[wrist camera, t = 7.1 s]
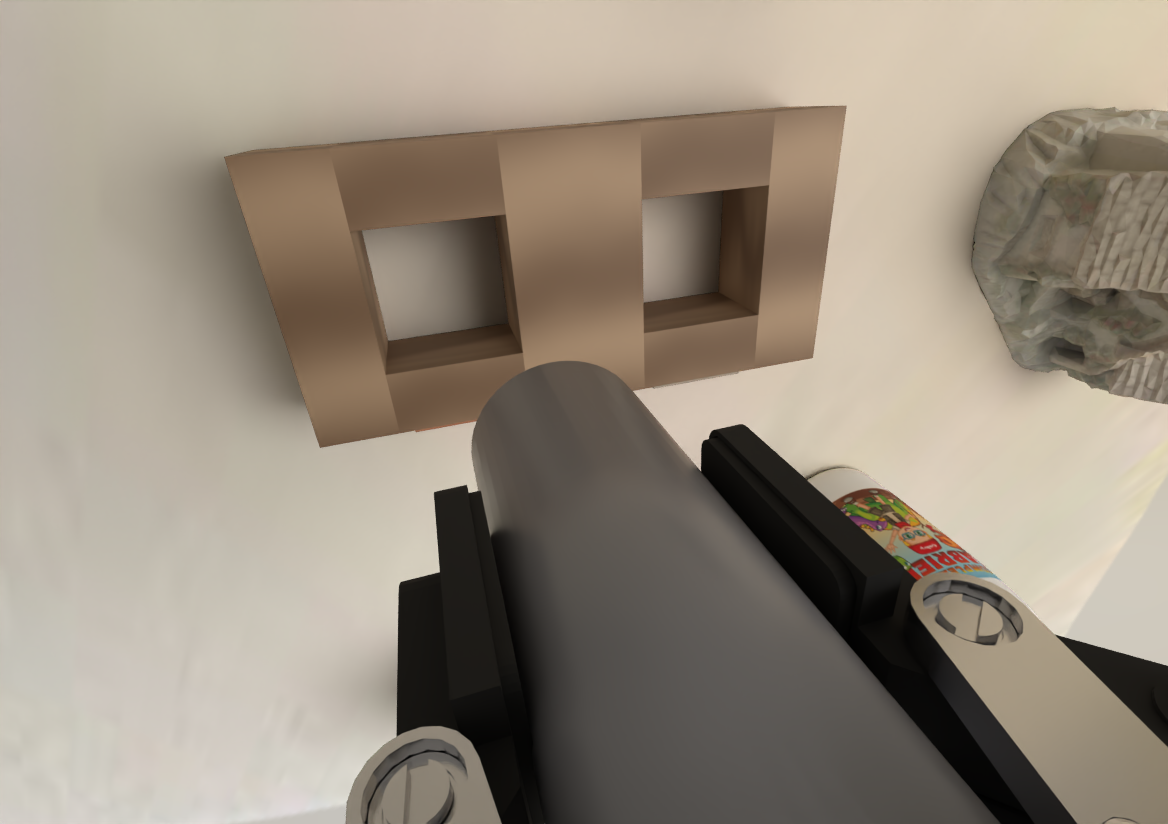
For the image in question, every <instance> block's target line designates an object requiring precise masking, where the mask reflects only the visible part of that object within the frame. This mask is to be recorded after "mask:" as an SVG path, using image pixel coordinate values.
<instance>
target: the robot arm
mask: <svg viewBox="0 0 1168 824" xmlns="http://www.w3.org/2000/svg"><path fill="white" fill-rule="evenodd" d="M701 472H702V473H703V475H704V476H705V477H706V478H707V479H708V481H709V482H710V483H711V484H712V485H713V486H714V488H715V489H716V490H717V491H718V492H719V493H720V495H721V496H722V497H723V498H724V499H725V501H726V502H727V503H728V504H729V505H730V506H731V508H732V509H733V510H734V511H735V512H736V513H737V515H738V516H739V517H740V518H741V519H742V520H743V522H744V523H745V524H746V525H747V526H748V528H749V529H750V530H751V531H752V532H753V533H754V535H755V536H756V537H757V538H758V539H759V540H760V542H761V543H762V544H763V545H764V546H765V548H766V549H767V550H768V551H769V552H770V553H771V555H772V556H773V557H774V558H775V559H776V560H777V562H778V563H779V564H780V565H781V566H782V567H783V569H784V570H785V571H786V572H787V573H788V575H789V576H790V577H791V578H792V579H793V580H794V582H795V583H796V584H797V585H798V586H799V587H800V589H801V590H802V591H803V592H804V593H805V595H806V596H807V597H808V598H809V599H810V600H811V602H812V603H813V604H814V605H815V606H816V607H817V609H818V610H819V611H820V612H821V613H822V614H823V616H824V617H825V618H826V619H827V620H828V622H829V623H830V624H831V625H832V626H833V627H834V629H835V630H836V631H837V632H838V633H839V634H840V636H841V637H842V638H843V639H844V640H845V642H846V643H847V644H848V645H849V646H850V647H851V649H852V650H853V651H854V652H855V653H856V654H857V656H858V657H859V658H860V659H861V660H862V661H863V663H864V664H865V665H866V666H867V667H868V669H869V670H870V671H871V672H872V673H873V674H874V676H875V677H876V678H877V679H878V680H879V681H880V683H881V684H882V685H883V686H884V687H885V688H886V690H887V691H888V692H889V693H890V694H891V696H892V697H893V698H894V699H895V700H896V701H897V703H898V704H899V705H900V706H901V707H902V708H903V710H904V711H905V712H906V713H907V714H908V716H909V717H910V718H911V719H912V720H913V721H914V723H915V724H916V725H917V726H918V727H919V728H920V730H921V731H922V732H923V733H924V734H925V735H926V737H927V738H928V739H929V740H930V741H931V743H932V744H933V745H934V746H935V747H936V748H937V750H938V751H939V752H940V753H941V754H942V755H943V757H944V758H945V759H946V760H947V761H948V763H949V764H950V765H951V766H952V767H953V768H954V770H955V771H956V772H957V773H958V774H959V775H960V777H961V778H962V779H963V780H964V781H965V782H966V784H967V785H968V786H969V787H970V788H971V790H972V791H973V792H974V793H975V794H976V795H977V797H978V798H979V799H980V800H981V801H982V802H983V804H984V805H985V806H986V807H987V808H988V810H989V811H990V812H991V813H992V814H993V815H994V817H995V818H996V819H997V820H998V821H999V822H1000V824H1168V666H1166V665H1162V664H1159V663H1155V662H1152V661H1148V660H1144V659H1141V658H1137V657H1133V656H1130V655H1126V654H1123V653H1119V652H1116V651H1112V650H1108V649H1105V648H1101V647H1097V646H1094V645H1090V644H1087V643H1083V642H1079V641H1075V640H1072V639H1069V638H1065V637H1061V636H1058V635H1054V634H1053V633H1052V632H1051V631H1050V630H1049V629H1048V628H1047V627H1046V626H1045V625H1044V624H1043V623H1042V622H1041V621H1040V620H1039V619H1038V618H1037V617H1036V616H1035V615H1034V614H1033V613H1032V612H1031V611H1030V610H1029V609H1028V608H1027V607H1026V606H1025V605H1024V604H1023V603H1022V602H1021V601H1019V600H1018V599H1017V598H1016V597H1015V596H1013V595H1012V594H1011V593H1010V592H1008V591H1006V590H1004V589H1003V588H1001V587H999V586H997V585H995V584H993V583H992V582H989V581H986V580H983V579H981V578H978V577H975V576H972V575H966V574H961V573H955V572H937V573H934V574H930V575H926V576H923V577H922V578H921V579H919V580H917V579H915V578H914V577H913V576H912V575H911V574H910V573H909V572H908V571H907V570H905V569H904V566H903V565H902V564H901V563H900V562H899V561H897V560H896V559H895V558H894V557H893V556H892V555H891V554H890V553H888V552H887V551H886V550H885V549H884V548H883V547H882V546H881V545H879V544H878V543H877V542H876V541H875V540H874V539H873V538H872V537H870V536H869V535H868V534H867V533H866V532H865V531H864V530H863V529H861V528H860V527H859V526H858V525H857V524H856V523H855V522H853V521H852V520H851V519H850V518H849V517H848V516H847V515H846V514H844V513H843V512H842V511H841V510H840V509H839V508H838V507H837V506H835V505H834V504H833V503H832V502H831V501H830V500H829V499H828V498H826V497H825V496H824V495H823V494H822V493H821V492H820V491H819V490H817V489H816V488H815V487H814V486H813V485H812V484H811V483H810V482H808V481H807V480H806V479H805V478H804V477H803V476H802V475H801V474H799V473H798V472H797V471H796V470H795V469H794V468H793V467H792V466H790V465H789V464H788V463H787V462H786V461H785V460H784V459H783V458H781V457H780V456H779V455H778V454H777V453H776V452H775V451H773V450H772V449H771V448H770V447H769V446H768V445H767V444H766V443H764V442H763V441H762V440H761V439H760V438H759V437H758V436H757V435H755V434H754V433H753V432H752V431H751V430H750V429H749V428H748V427H746V426H745V425H743V424H739V425H735V426H730V427H726V428H721V429H717V430H713V431H712V432H711V433H710V436H709V439H708V440H704V441H703V443H702V448H701ZM434 500H435V513H436V526H437V539H438V552H439V565H440V572H439V573H435V574H431V575H427V576H423V577H419V578H415V579H411V580H407V581H403V582H401V583H400V585H399V605H398V675H397V737H396V738H394V739H392V740H391V741H389V742H388V743H386V744H384V745H383V746H382V747H381V748H380V749H379V750H378V751H377V752H376V753H375V754H374V755H373V756H372V757H371V758H370V759H369V760H368V761H367V762H366V764H365V765H364V767H363V768H362V770H361V771H360V773H359V774H358V776H357V777H356V779H355V781H354V783H353V786H352V789H351V792H350V795H349V797H348V800H347V807H346V824H544V818H543V813H542V808H541V803H540V798H539V793H538V788H537V783H536V778H535V773H534V768H533V759H532V746H533V741H532V736H531V731H530V726H529V721H528V717H527V712H526V707H525V702H524V697H523V692H522V687H521V682H520V677H519V673H518V668H517V663H516V658H515V653H514V648H513V643H512V639H511V634H510V629H509V624H508V619H507V614H506V610H505V605H504V600H503V595H502V590H501V585H500V580H499V576H498V571H497V566H496V561H495V556H494V551H493V547H492V542H491V537H490V532H489V527H488V522H487V517H486V513H485V508H484V503H483V498H482V493H481V491H477V492H472V493H468V488H467V485H464V486H460V487H455V488H451V489H446V490H442V491H437V492H434Z"/></svg>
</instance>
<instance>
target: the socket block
mask: <svg viewBox="0 0 1168 824" xmlns="http://www.w3.org/2000/svg"><path fill="white" fill-rule="evenodd" d="M845 114H846V106H809V107H782V108H769V109H757V110H745V111H732V112H720V113H708V114H695V115H683V116H670V117H658V118H646V119H633V120H621V121H608V122H596V123H584V124H571V125H559V126H547V127H534V128H522V129H509V130H497V131H485V132H472V133H460V134H448V135H435V136H423V137H410V138H398V139H386V140H373V141H361V142H349V143H336V144H324V145H311V146H299V147H287V148H274V149H262V150H251V151H247V152H243V153H239V154H235V155H230V156H226V157H224V158H225V161H226V164H227V167H228V170H229V173H230V176H231V179H232V182H233V185H234V188H235V191H236V194H237V197H238V201H239V204H240V207H241V210H242V213H243V216H244V219H245V222H246V225H247V228H248V231H249V234H250V237H251V240H252V243H253V246H254V249H255V252H256V255H257V258H258V261H259V264H260V267H261V270H262V273H263V276H264V279H265V282H266V285H267V288H268V291H269V294H270V298H271V301H272V304H273V307H274V310H275V313H276V316H277V319H278V322H279V325H280V328H281V331H282V334H283V337H284V340H285V343H286V346H287V349H288V352H289V355H290V358H291V361H292V364H293V367H294V370H295V373H296V376H297V379H298V382H299V385H300V388H301V392H302V395H303V398H304V401H305V404H306V407H307V410H308V413H309V416H310V419H311V422H312V425H313V428H314V431H315V434H316V437H317V440H318V443H319V446H320V448H321V447H327V446H332V445H338V444H343V443H349V442H354V441H360V440H365V439H371V438H376V437H382V436H387V435H393V434H398V433H404V432H409V431H416V432H419V431H425V430H430V429H436V428H441V427H447V426H452V425H458V424H463V423H469V422H474V421H477V419H478V417H479V415H480V413H481V411H482V409H483V408H484V406H485V405H486V403H487V402H488V400H489V399H490V398H491V397H492V396H493V395H494V393H495V392H496V391H497V390H498V389H499V388H501V387H502V386H503V385H504V384H505V383H506V382H508V381H509V380H511V379H512V378H513V377H515V376H516V375H518V374H520V373H522V372H524V371H526V370H528V369H530V368H533V367H536V366H538V365H542V364H546V363H550V362H557V361H580V362H587V363H591V364H594V365H598V366H600V367H602V368H605V369H607V370H609V371H610V372H612V373H614V374H615V375H617V376H618V377H619V378H620V379H622V380H623V381H624V382H625V383H626V384H627V385H628V387H629V388H630V389H631V390H632V391H634V390H640V389H645V388H651V387H653V388H654V389H655V388H660V387H665V386H671V385H676V384H682V383H687V382H693V381H698V380H704V379H709V378H715V377H720V376H726V375H731V374H737V373H738V371H744V370H749V369H755V368H760V367H766V366H771V365H777V364H782V363H788V362H793V361H799V360H804V359H810V358H813V352H814V345H815V337H816V330H817V323H818V315H819V308H820V300H821V293H822V285H823V278H824V270H825V263H826V255H827V248H828V241H829V233H830V226H831V218H832V211H833V203H834V196H835V188H836V181H837V173H838V166H839V159H840V151H841V144H842V136H843V129H844V121H845ZM721 190H723V202H722V223H721V244H720V265H719V286H718V292H714V293H708V294H701V295H694V296H688V297H681V298H674V299H668V300H661V301H654V302H648V303H643V246H642V199H649V198H658V197H667V196H676V195H685V194H694V193H703V192H712V191H721ZM487 216H494V217H495V225H496V232H497V240H498V248H499V255H500V263H501V270H502V278H503V285H504V293H505V301H506V308H507V316H508V324H501V325H494V326H488V327H481V328H474V329H468V330H461V331H454V332H448V333H441V334H434V335H428V336H421V337H414V338H408V339H401V340H394V341H388V339H387V335H386V330H385V326H384V322H383V318H382V314H381V310H380V305H379V301H378V297H377V293H376V289H375V285H374V280H373V276H372V272H371V268H370V264H369V260H368V255H367V251H366V247H365V243H364V239H363V234H362V230H369V229H378V228H387V227H396V226H405V225H414V224H423V223H432V222H441V221H450V220H459V219H469V218H478V217H487Z"/></svg>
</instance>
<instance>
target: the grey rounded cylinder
mask: <svg viewBox="0 0 1168 824" xmlns="http://www.w3.org/2000/svg"><path fill="white" fill-rule="evenodd" d="M471 453H472V460H473V466H474V471H475V476H476V481H477V486H478V491H481V493H482V498H483V503H484V508H485V513H486V517H487V522H488V527H489V532H490V537H491V542H492V547H493V551H494V556H495V561H496V566H497V571H498V576H499V580H500V585H501V590H502V595H503V600H504V605H505V610H506V614H507V619H508V624H509V629H510V634H511V639H512V643H513V648H514V653H515V658H516V663H517V668H518V673H519V677H520V682H521V687H522V692H523V697H524V702H525V707H526V712H527V717H528V721H529V726H530V731H531V736H532V741H533V746H532V759H533V768H534V773H535V778H536V783H537V788H538V793H539V798H540V803H541V808H542V813H543V818H544V824H1000V822H999V821H998V820H997V819H996V818H995V817H994V815H993V814H992V813H991V812H990V811H989V810H988V808H987V807H986V806H985V805H984V804H983V802H982V801H981V800H980V799H979V798H978V797H977V795H976V794H975V793H974V792H973V791H972V790H971V788H970V787H969V786H968V785H967V784H966V782H965V781H964V780H963V779H962V778H961V777H960V775H959V774H958V773H957V772H956V771H955V770H954V768H953V767H952V766H951V765H950V764H949V763H948V761H947V760H946V759H945V758H944V757H943V755H942V754H941V753H940V752H939V751H938V750H937V748H936V747H935V746H934V745H933V744H932V743H931V741H930V740H929V739H928V738H927V737H926V735H925V734H924V733H923V732H922V731H921V730H920V728H919V727H918V726H917V725H916V724H915V723H914V721H913V720H912V719H911V718H910V717H909V716H908V714H907V713H906V712H905V711H904V710H903V708H902V707H901V706H900V705H899V704H898V703H897V701H896V700H895V699H894V698H893V697H892V696H891V694H890V693H889V692H888V691H887V690H886V688H885V687H884V686H883V685H882V684H881V683H880V681H879V680H878V679H877V678H876V677H875V676H874V674H873V673H872V672H871V671H870V670H869V669H868V667H867V666H866V665H865V664H864V663H863V661H862V660H861V659H860V658H859V657H858V656H857V654H856V653H855V652H854V651H853V650H852V649H851V647H850V646H849V645H848V644H847V643H846V642H845V640H844V639H843V638H842V637H841V636H840V634H839V633H838V632H837V631H836V630H835V629H834V627H833V626H832V625H831V624H830V623H829V622H828V620H827V619H826V618H825V617H824V616H823V614H822V613H821V612H820V611H819V610H818V609H817V607H816V606H815V605H814V604H813V603H812V602H811V600H810V599H809V598H808V597H807V596H806V595H805V593H804V592H803V591H802V590H801V589H800V587H799V586H798V585H797V584H796V583H795V582H794V580H793V579H792V578H791V577H790V576H789V575H788V573H787V572H786V571H785V570H784V569H783V567H782V566H781V565H780V564H779V563H778V562H777V560H776V559H775V558H774V557H773V556H772V555H771V553H770V552H769V551H768V550H767V549H766V548H765V546H764V545H763V544H762V543H761V542H760V540H759V539H758V538H757V537H756V536H755V535H754V533H753V532H752V531H751V530H750V529H749V528H748V526H747V525H746V524H745V523H744V522H743V520H742V519H741V518H740V517H739V516H738V515H737V513H736V512H735V511H734V510H733V509H732V508H731V506H730V505H729V504H728V503H727V502H726V501H725V499H724V498H723V497H722V496H721V495H720V493H719V492H718V491H717V490H716V489H715V488H714V486H713V485H712V484H711V483H710V482H709V481H708V479H707V478H706V477H705V476H704V475H703V473H702V472H701V471H700V470H699V469H698V468H697V466H696V465H695V464H694V463H693V462H692V461H691V459H690V458H689V457H688V456H687V455H686V454H685V452H684V451H683V450H682V449H681V448H680V446H679V445H678V444H677V443H676V442H675V441H674V439H673V438H672V437H671V436H670V435H669V434H668V432H667V431H666V430H665V429H664V428H663V427H662V425H661V424H660V423H659V422H658V421H657V419H656V418H655V417H654V416H653V415H652V414H651V412H650V411H649V410H648V409H647V408H646V407H645V405H644V404H643V403H642V402H641V401H640V399H639V398H638V397H637V396H636V395H635V394H634V392H633V391H632V390H631V389H630V388H629V387H628V385H627V384H626V383H625V382H624V381H623V380H622V379H620V378H619V377H618V376H617V375H615V374H614V373H612V372H610V371H609V370H607V369H605V368H602V367H600V366H598V365H594V364H591V363H587V362H580V361H557V362H550V363H546V364H542V365H538V366H536V367H533V368H530V369H528V370H526V371H524V372H522V373H520V374H518V375H516V376H515V377H513V378H512V379H511V380H509V381H508V382H506V383H505V384H504V385H503V386H502V387H501V388H499V389H498V390H497V391H496V392H495V393H494V395H493V396H492V397H491V398H490V399H489V400H488V402H487V403H486V405H485V406H484V408H483V409H482V411H481V413H480V415H479V417H478V419H477V422H476V425H475V428H474V432H473V437H472V450H471Z"/></svg>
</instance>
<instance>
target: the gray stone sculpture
mask: <svg viewBox="0 0 1168 824" xmlns="http://www.w3.org/2000/svg"><path fill="white" fill-rule="evenodd" d="M973 239H974V241H975V244H974V246H973V248H974V249H975V250H974V251H973V257H972V269H973V271H974V273H975V275H976V276H977V277H976V279H977V280H978V282H979V285H980V287H981V289H982V291H983V292H984V293H983V294H984V295H985V298H986V299H987V300H988V301H987V302H988V304H989V306H990V308H991V310H992V312H993V313H994V319H995V320H996V321H997V322H998V324H999V325H1000V330H1001V331H1002V334H1003V337H1004V339H1005V341H1006V342H1007V344H1008V345H1007V346H1008V348H1009V349H1010V352H1011V355H1012V357H1013V360H1015V361H1016V362H1017V363H1018V364H1019V365H1020V366H1021V367H1023V368H1027V369H1030V370H1034V371H1041V372H1047V373H1048V372H1050V371H1052V370H1067V372H1068V376H1070V377H1073V378H1075V379H1077V380H1079V381H1082V382H1085V383H1087V384H1088V385H1089V386H1090V387H1091V388H1099V389H1102V390H1106V391H1109V393H1110V394H1114V395H1118V396H1123V397H1133V398H1136V399H1139V400H1144V401H1151V402H1157V403H1163V404H1168V112H1167V111H1158V110H1145V111H1137V110H1135V111H1120V110H1118V109H1117V108H1115V107H1113V108H1106V109H1099V110H1093V109H1090V108H1086V109H1078V110H1068V111H1056V112H1053V113H1050V114H1048V115H1046V116H1044V117H1043V118H1041V119H1040V120H1038V121H1036V122H1035V123H1033V124H1031V125H1029V126H1028V128H1026V129H1024V130H1023V132H1022V133H1021V134H1020V135H1019V137H1017V139H1016V140H1015V141H1014V142H1013V143H1012V144H1011V146H1010V147H1009V148H1008V149H1007V150H1006V151H1005V153H1004V154H1003V156H1002V158H1001V161H1000V162H999V163H998V164H997V165H996V166H995V167H994V169H993V172H992V174H991V177H990V180H989V183H988V185H987V188H986V190H985V192H984V195H983V198H982V201H981V204H980V209H979V214H978V218H977V223H976V228H975V234H974V238H973Z"/></svg>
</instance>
